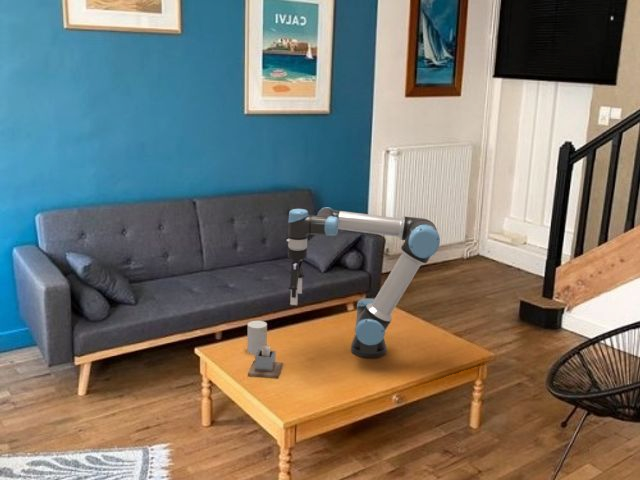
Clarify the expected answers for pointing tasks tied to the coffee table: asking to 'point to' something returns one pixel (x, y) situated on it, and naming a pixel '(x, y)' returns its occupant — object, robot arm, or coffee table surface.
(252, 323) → the gold-veined taupe cylinder
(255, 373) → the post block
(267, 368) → the collar
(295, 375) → the coffee table surface
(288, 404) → the coffee table surface
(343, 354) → the coffee table surface
